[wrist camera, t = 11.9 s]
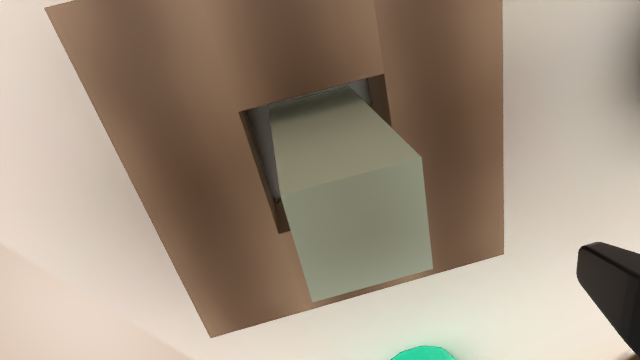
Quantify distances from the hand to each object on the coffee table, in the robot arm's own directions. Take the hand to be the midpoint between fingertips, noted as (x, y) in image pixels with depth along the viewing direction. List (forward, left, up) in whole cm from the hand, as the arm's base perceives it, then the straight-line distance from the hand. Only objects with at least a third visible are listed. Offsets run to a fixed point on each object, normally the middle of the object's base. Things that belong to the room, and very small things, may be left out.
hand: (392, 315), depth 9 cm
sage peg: (0, 0, -12) cm, 12 cm away
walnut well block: (0, 0, -12) cm, 12 cm away
